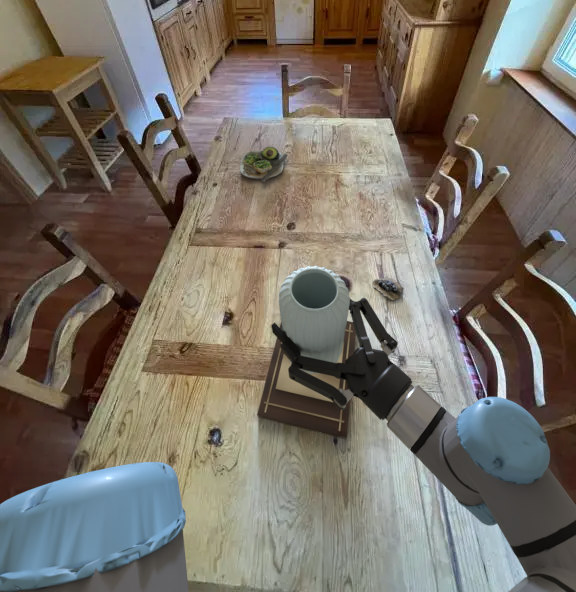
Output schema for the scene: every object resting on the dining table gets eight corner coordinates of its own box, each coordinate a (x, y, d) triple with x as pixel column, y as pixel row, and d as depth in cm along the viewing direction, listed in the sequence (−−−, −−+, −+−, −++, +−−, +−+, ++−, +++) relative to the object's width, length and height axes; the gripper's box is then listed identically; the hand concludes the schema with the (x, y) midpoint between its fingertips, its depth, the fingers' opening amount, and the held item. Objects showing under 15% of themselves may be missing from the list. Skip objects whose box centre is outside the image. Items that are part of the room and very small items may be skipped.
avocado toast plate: (285, 185, 122) (285, 175, 119) (236, 185, 123) (234, 175, 120) (288, 153, 136) (287, 143, 132) (243, 153, 137) (242, 144, 133)
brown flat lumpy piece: (398, 305, 86) (399, 301, 85) (367, 292, 89) (368, 288, 88) (405, 285, 91) (407, 281, 89) (376, 273, 94) (377, 269, 92)
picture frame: (346, 439, 66) (346, 437, 65) (257, 417, 70) (256, 414, 68) (356, 325, 83) (357, 322, 82) (284, 311, 86) (284, 308, 85)
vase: (290, 385, 64) (285, 330, 49) (279, 328, 72) (271, 265, 57) (349, 371, 65) (362, 313, 50) (331, 317, 74) (338, 252, 58)
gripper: (344, 474, 48) (249, 359, 60) (436, 357, 59) (340, 279, 71) (348, 464, 42) (244, 340, 54) (448, 337, 53) (343, 257, 65)
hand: (298, 305), depth 63 cm, fingers closed on vase, 11 cm apart
